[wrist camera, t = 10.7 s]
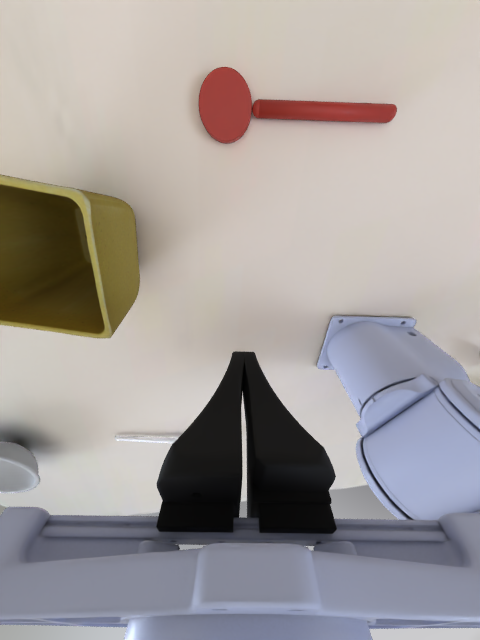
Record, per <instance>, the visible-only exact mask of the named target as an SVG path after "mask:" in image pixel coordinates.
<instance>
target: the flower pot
mask: <svg viewBox="0 0 480 640" xmlns="http://www.w3.org/2000/svg"><path fill="white" fill-rule="evenodd" d="M139 283H140V274H139V263H138V250H137V237H136V223H135V215H134V212H133V210H132V208H131V207H130V206H129V205H128V204H127V203H126V202H124V201H122V200H120V199H117V198H115V197H111V196H106V195H101V194H97V193H92V192H88V191H83V190H79V189H74V188H69V187H63V186H57V185H51V184H46V183H41V182H35V181H30V180H25V179H20V178H15V177H10V176H5V175H0V325H4V326H13V327H21V328H28V329H36V330H44V331H51V332H58V333H64V334H70V335H78V336H84V337H92V338H111V336H112V335H113V333H114V332H115V330H116V329H117V327H118V326H119V325H120V323H121V322H122V320H123V319H124V317H125V316H126V314H127V313H128V311H129V310H130V308H131V307H132V305H133V303H134V302H135V300H136V298H137V295H138V291H139Z"/></svg>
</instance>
